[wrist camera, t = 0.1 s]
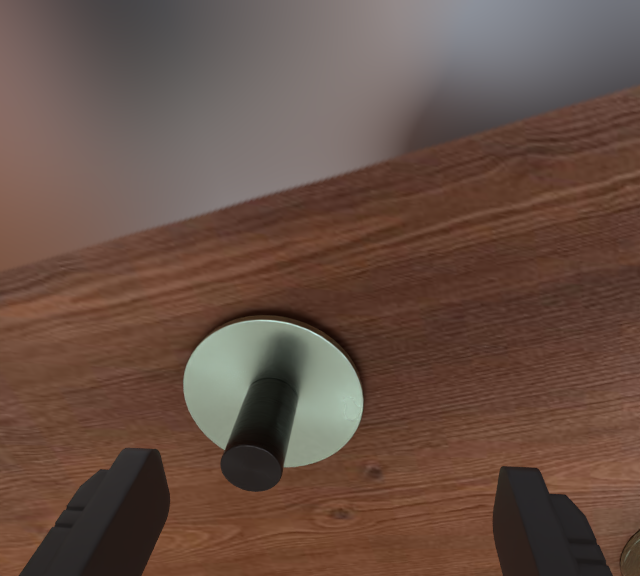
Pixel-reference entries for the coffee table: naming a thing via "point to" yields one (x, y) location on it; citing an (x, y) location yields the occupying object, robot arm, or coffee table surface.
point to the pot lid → (272, 396)
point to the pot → (631, 557)
